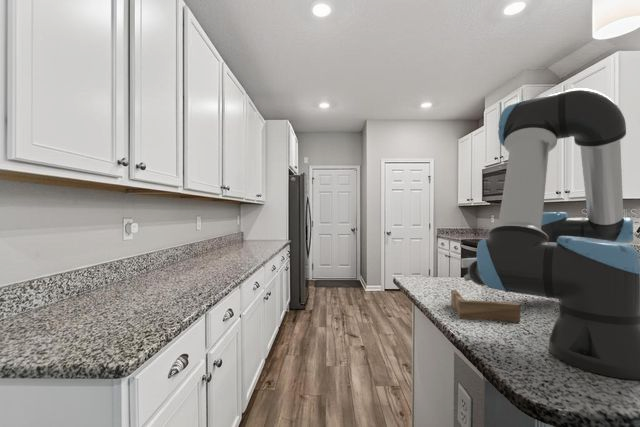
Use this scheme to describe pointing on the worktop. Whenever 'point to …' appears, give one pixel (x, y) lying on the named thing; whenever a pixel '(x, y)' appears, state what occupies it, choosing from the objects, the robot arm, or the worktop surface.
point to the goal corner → (485, 309)
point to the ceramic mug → (474, 274)
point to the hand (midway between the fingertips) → (473, 265)
